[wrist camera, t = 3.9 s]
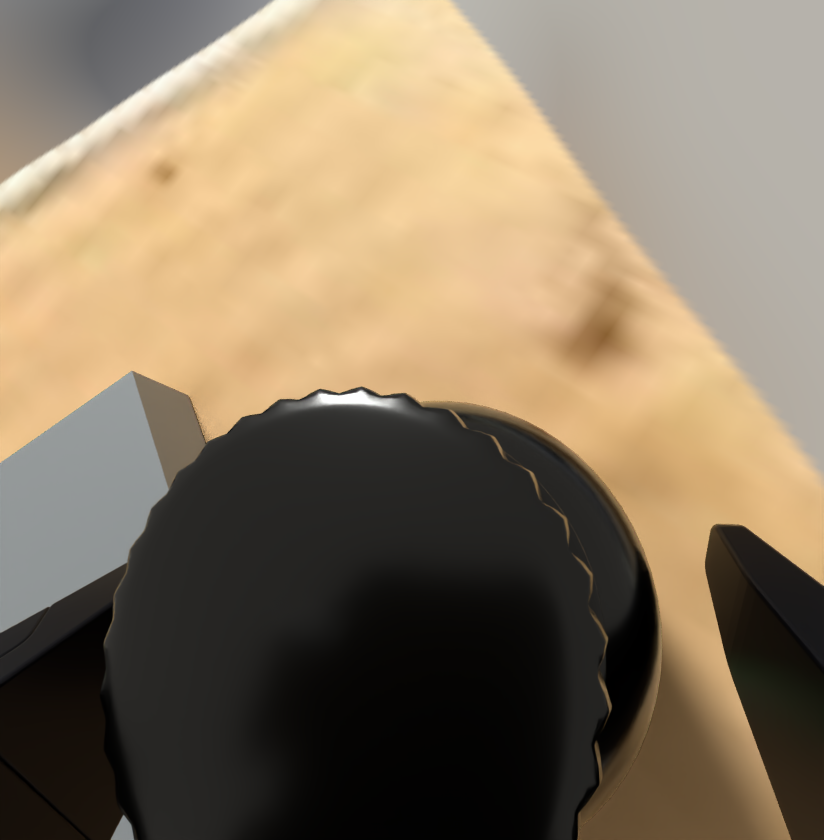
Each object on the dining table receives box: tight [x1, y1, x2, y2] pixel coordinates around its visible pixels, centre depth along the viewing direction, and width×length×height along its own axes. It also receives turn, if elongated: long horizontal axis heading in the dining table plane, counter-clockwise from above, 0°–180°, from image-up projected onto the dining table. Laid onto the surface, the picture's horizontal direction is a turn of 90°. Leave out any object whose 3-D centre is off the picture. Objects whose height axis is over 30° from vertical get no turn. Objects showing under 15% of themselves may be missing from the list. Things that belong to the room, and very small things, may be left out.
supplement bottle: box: [99, 387, 662, 840], centre depth 10 cm, size 7×7×12 cm
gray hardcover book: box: [0, 371, 206, 840], centre depth 17 cm, size 16×20×3 cm
